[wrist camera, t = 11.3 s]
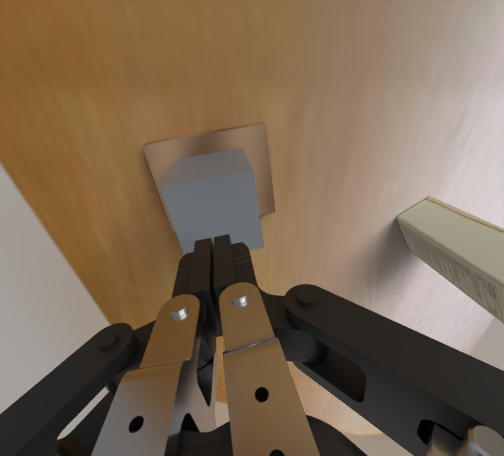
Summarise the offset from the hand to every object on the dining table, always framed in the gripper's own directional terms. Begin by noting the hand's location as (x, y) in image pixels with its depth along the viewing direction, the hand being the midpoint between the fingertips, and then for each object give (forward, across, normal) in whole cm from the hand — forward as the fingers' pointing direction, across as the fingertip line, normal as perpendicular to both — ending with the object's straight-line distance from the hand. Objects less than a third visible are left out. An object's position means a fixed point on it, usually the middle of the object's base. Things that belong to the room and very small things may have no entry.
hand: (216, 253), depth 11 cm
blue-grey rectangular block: (+10, 0, 0) cm, 10 cm away
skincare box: (+13, -22, +10) cm, 28 cm away
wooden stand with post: (+13, 0, 0) cm, 13 cm away
